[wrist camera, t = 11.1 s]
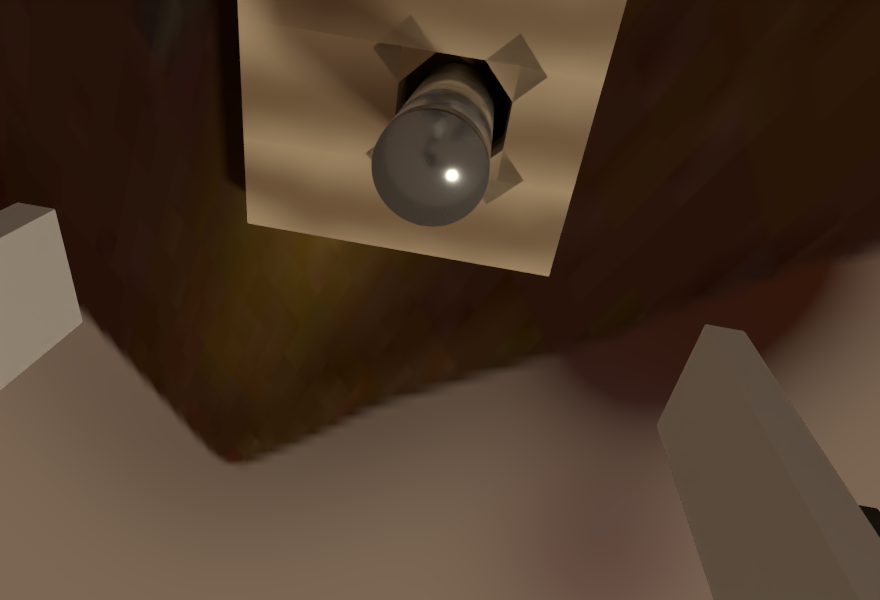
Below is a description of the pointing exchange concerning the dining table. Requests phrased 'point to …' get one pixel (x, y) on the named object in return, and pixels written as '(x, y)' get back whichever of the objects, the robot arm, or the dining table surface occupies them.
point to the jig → (383, 95)
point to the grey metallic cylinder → (438, 148)
